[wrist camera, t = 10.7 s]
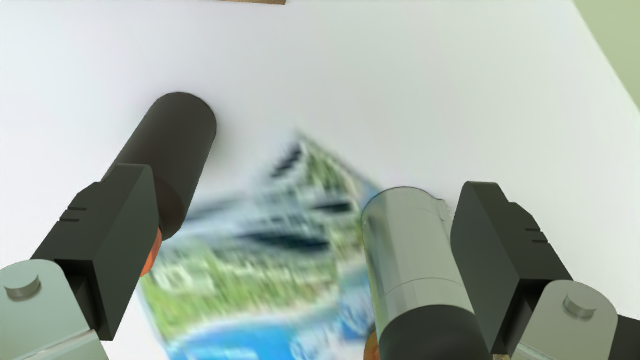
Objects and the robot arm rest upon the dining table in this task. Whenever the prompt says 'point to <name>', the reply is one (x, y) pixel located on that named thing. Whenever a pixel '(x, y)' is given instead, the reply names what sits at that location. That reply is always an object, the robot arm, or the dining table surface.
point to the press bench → (261, 1)
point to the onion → (372, 348)
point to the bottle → (171, 157)
